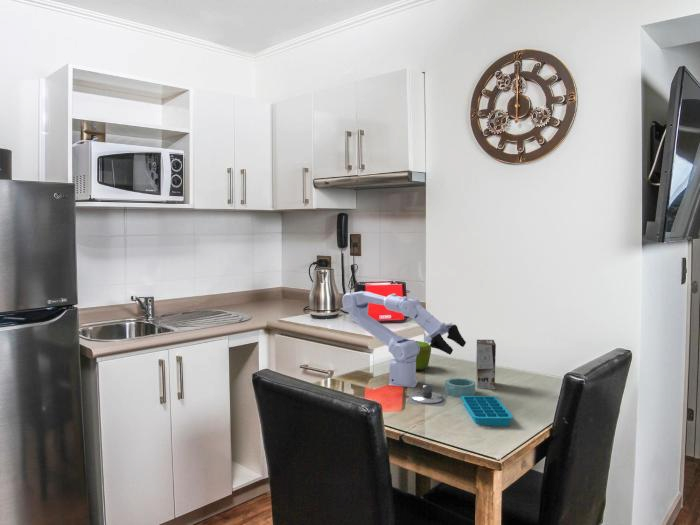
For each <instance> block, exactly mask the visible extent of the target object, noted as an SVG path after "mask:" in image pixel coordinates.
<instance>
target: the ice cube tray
mask: <svg viewBox="0 0 700 525" xmlns="http://www.w3.org/2000/svg"><path fill="white" fill-rule="evenodd" d="M460 399H461V401H462V403H463V407H464V408H465V410H466V411H467V413H468V414H469V416H470V417H471V419H472V422H474V424H475V425H484V426H485V425H486V426H487V425H488V426H489V427H509V426H510V421H511V420H512V419H514V415H513V414H512V413H511V412H510V411H509V410H508V409H507V407H506V406H505V405H504V404H503V402H501V400H500V399H499V398H498V397H497V396H494V395H474V396H461V397H460ZM508 425H509V426H508Z"/></svg>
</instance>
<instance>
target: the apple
mask: <svg viewBox="0 0 700 525" xmlns="http://www.w3.org/2000/svg"><path fill="white" fill-rule="evenodd" d="M415 341H416V342H417V343H418V345H419V347H420V351H419V354H418V355H417V356H416V371H423V370H425V369H426V368H427V367H428V365H429V363H430V359H431V354H432V347H431V346H430V343H429V344H428V343H427V342H426V341H419V340H418V341H417V340H415Z"/></svg>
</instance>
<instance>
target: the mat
mask: <svg viewBox="0 0 700 525" xmlns="http://www.w3.org/2000/svg"><path fill="white" fill-rule="evenodd" d="M414 393H417V392H416V391H411V393H410V395H409V397H408V398H407V401H406V402H405V404H411V405H421V406H423V405H424V406H435V407H444V406H445V404H446V401H447V397H448V394H441V393H439V394H440V395H442V396H443V401H442V402H440V403H436V404H422V403H418V402H415V401H413V400H412V399H411V396H412V394H414Z"/></svg>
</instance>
